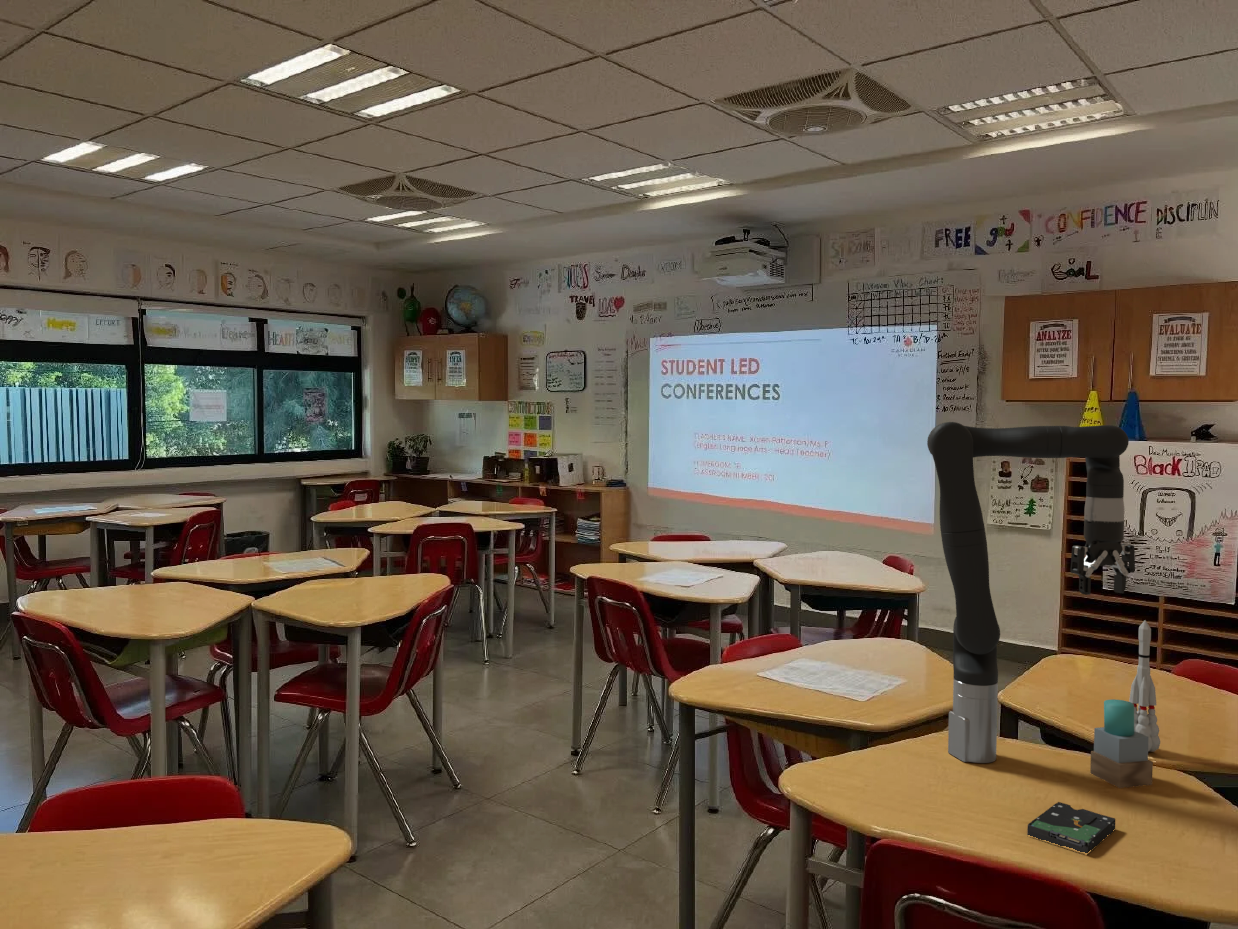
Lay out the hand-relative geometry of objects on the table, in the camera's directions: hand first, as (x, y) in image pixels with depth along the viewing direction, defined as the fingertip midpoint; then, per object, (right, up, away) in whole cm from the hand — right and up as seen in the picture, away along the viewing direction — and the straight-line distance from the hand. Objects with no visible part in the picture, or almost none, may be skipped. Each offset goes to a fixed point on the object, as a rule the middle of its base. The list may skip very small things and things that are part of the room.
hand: (1102, 593), depth 191 cm
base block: (+2, -39, -4) cm, 39 cm away
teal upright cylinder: (+1, -28, -4) cm, 29 cm away
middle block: (+2, -34, -4) cm, 34 cm away
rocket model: (+16, -38, +12) cm, 43 cm away
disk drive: (-22, -40, -30) cm, 54 cm away
